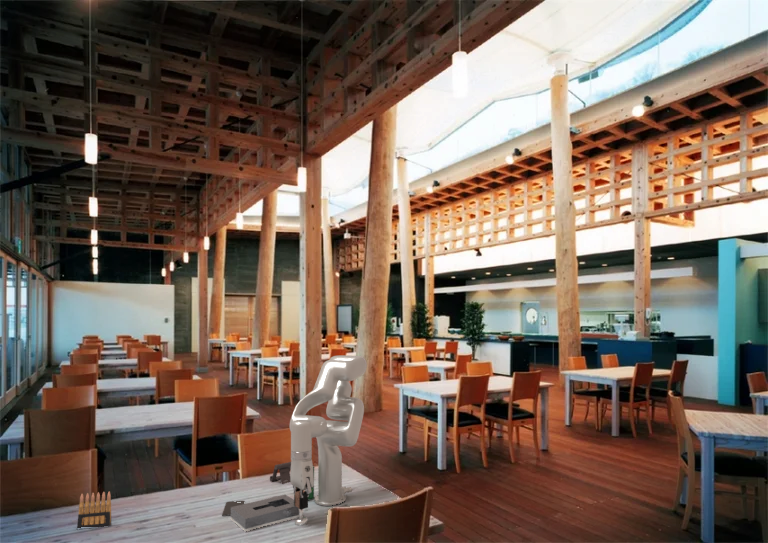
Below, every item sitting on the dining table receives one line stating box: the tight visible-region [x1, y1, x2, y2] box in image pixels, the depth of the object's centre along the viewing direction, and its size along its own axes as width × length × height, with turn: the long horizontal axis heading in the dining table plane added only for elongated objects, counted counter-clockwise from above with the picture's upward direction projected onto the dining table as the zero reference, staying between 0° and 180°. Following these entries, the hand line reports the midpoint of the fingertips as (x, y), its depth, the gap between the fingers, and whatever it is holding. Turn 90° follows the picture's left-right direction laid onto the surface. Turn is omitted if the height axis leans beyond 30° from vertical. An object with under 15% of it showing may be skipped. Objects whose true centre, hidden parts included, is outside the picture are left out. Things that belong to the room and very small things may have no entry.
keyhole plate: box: [230, 494, 299, 533], centre depth 192 cm, size 22×14×4 cm, turn 127°
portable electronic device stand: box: [269, 461, 291, 485], centre depth 235 cm, size 9×8×8 cm
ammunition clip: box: [76, 491, 112, 529], centre depth 185 cm, size 11×2×12 cm, turn 105°
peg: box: [294, 490, 308, 526], centre depth 187 cm, size 4×4×11 cm
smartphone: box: [221, 500, 246, 517], centre depth 201 cm, size 7×1×15 cm
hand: (301, 506), depth 187 cm, fingers closed on peg, 3 cm apart
